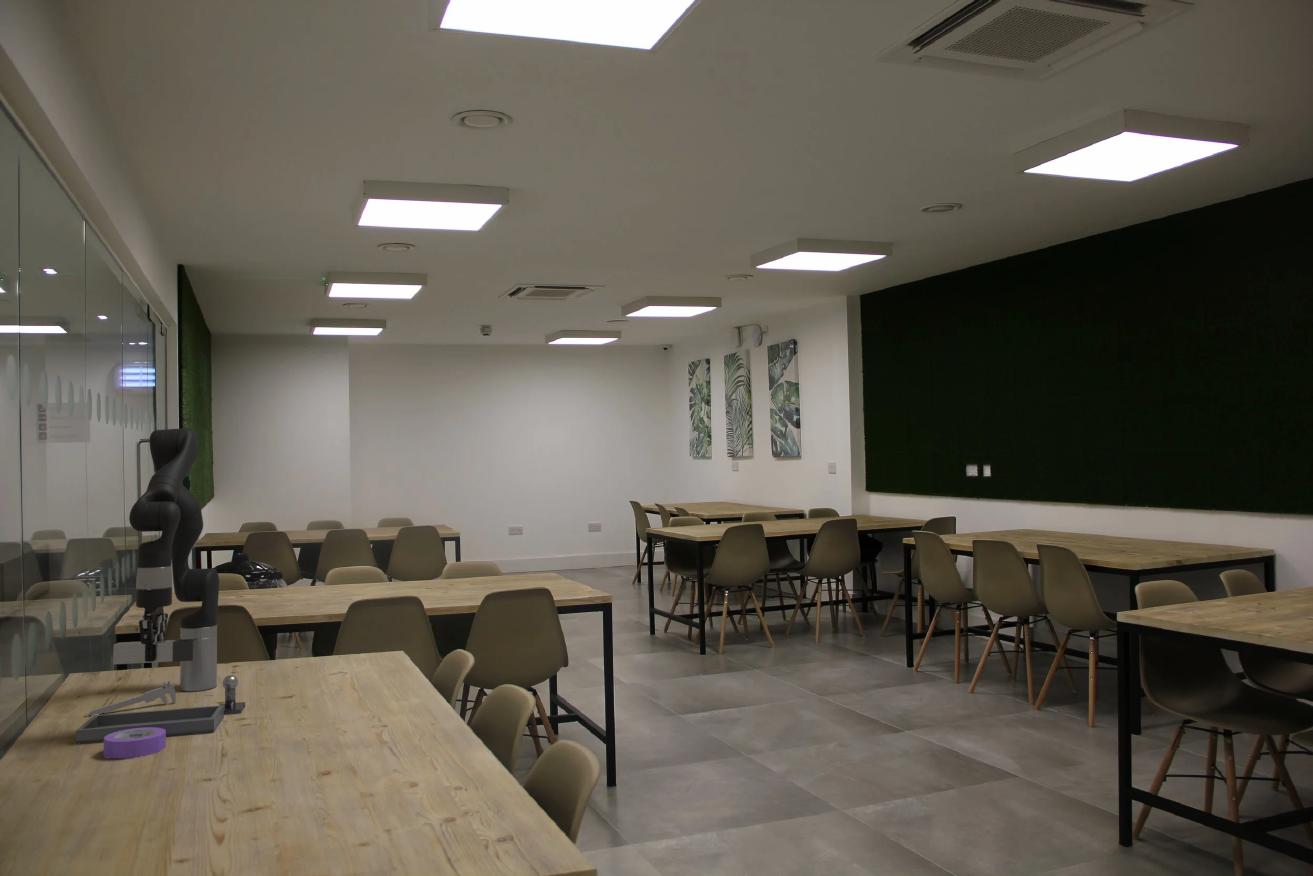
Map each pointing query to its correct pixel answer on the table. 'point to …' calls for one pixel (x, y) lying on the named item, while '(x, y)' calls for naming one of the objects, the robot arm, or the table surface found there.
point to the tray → (153, 722)
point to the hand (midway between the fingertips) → (153, 659)
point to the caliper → (141, 699)
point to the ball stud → (231, 696)
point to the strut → (164, 651)
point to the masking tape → (134, 742)
